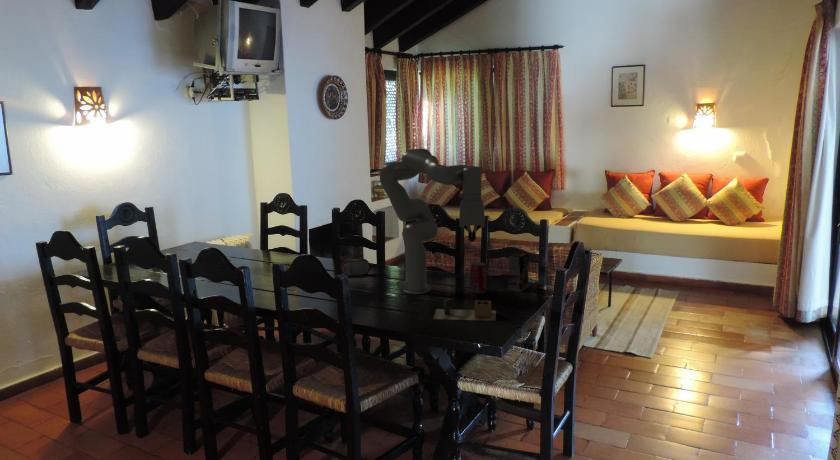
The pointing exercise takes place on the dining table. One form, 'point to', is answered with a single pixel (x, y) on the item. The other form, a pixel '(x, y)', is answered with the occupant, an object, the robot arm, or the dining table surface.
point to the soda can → (478, 277)
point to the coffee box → (518, 272)
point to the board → (459, 314)
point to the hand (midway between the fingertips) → (472, 241)
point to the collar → (482, 309)
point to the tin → (355, 267)
